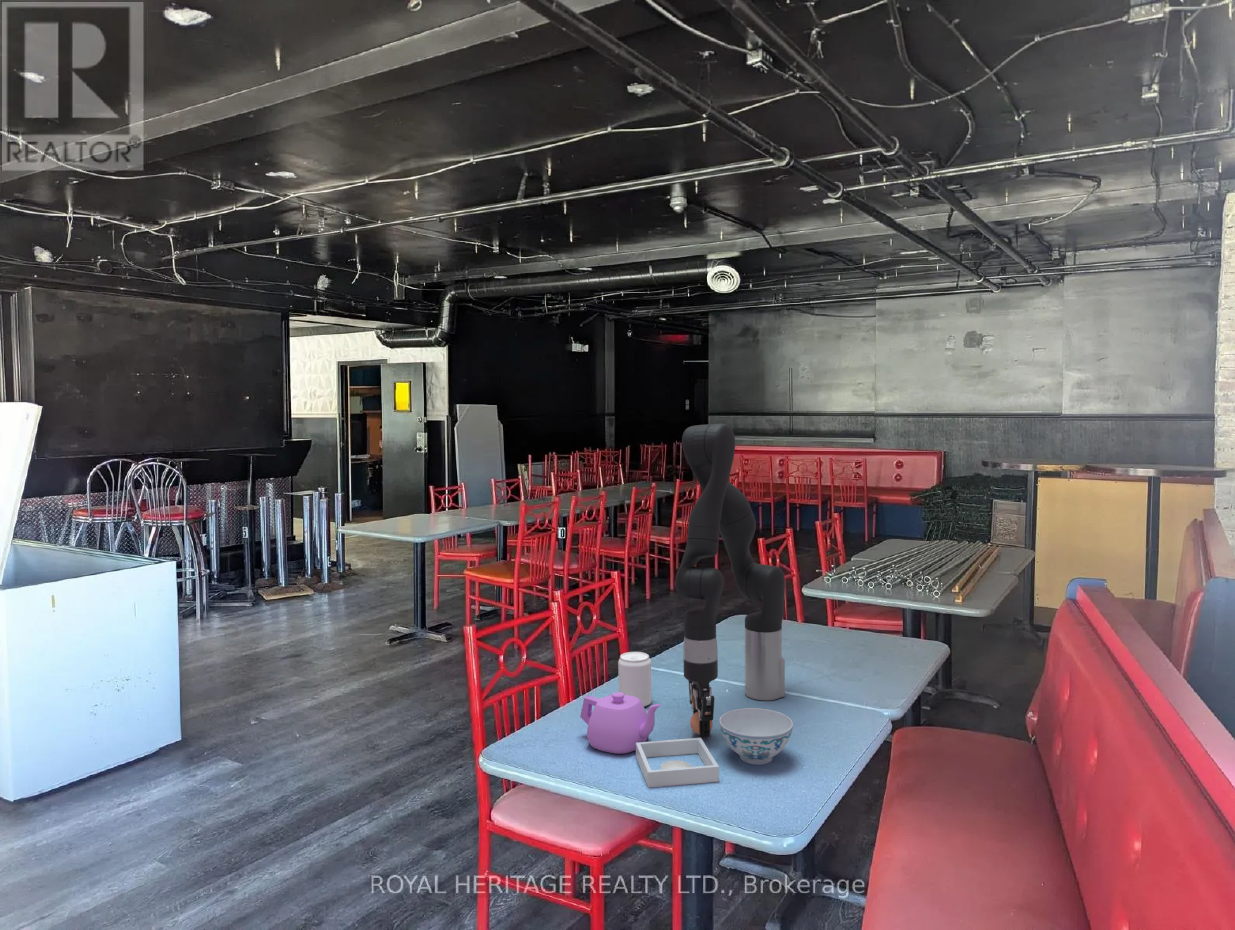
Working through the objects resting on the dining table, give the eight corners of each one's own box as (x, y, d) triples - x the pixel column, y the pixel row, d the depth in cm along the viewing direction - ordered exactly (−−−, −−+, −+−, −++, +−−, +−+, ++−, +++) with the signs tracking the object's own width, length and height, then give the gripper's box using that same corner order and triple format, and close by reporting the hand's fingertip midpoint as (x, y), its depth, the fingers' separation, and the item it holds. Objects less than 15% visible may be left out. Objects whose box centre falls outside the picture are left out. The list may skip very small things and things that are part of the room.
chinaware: (777, 780, 155) (777, 741, 155) (707, 763, 163) (707, 726, 162) (803, 751, 168) (803, 716, 167) (737, 737, 176) (736, 703, 175)
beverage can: (652, 698, 201) (651, 651, 200) (650, 710, 193) (649, 661, 192) (620, 697, 201) (619, 650, 201) (617, 709, 193) (616, 660, 193)
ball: (709, 728, 180) (709, 706, 179) (715, 737, 175) (715, 715, 174) (687, 730, 179) (687, 708, 179) (693, 739, 174) (693, 717, 174)
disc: (687, 760, 164) (687, 759, 164) (695, 774, 158) (695, 772, 158) (657, 762, 163) (657, 761, 163) (663, 776, 157) (663, 775, 157)
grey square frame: (701, 751, 169) (700, 737, 169) (718, 781, 155) (718, 766, 155) (635, 756, 167) (635, 742, 166) (648, 787, 153) (648, 772, 153)
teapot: (647, 765, 163) (646, 712, 162) (566, 746, 173) (565, 696, 172) (676, 741, 174) (675, 692, 173) (598, 724, 184) (597, 677, 183)
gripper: (726, 665, 169) (726, 743, 170) (708, 645, 183) (709, 717, 185) (691, 667, 168) (692, 746, 169) (676, 647, 182) (677, 720, 183)
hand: (701, 730), depth 177 cm, fingers closed on ball, 5 cm apart
